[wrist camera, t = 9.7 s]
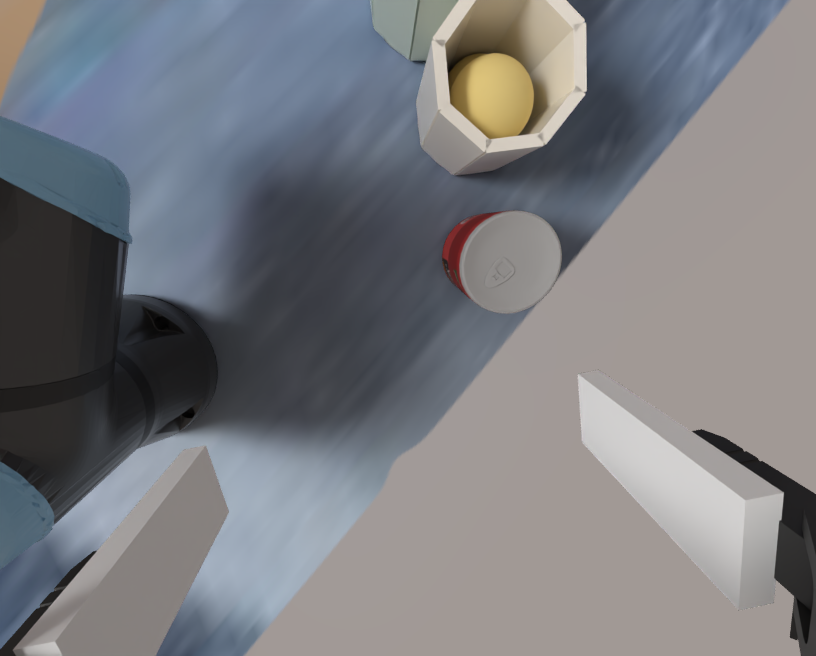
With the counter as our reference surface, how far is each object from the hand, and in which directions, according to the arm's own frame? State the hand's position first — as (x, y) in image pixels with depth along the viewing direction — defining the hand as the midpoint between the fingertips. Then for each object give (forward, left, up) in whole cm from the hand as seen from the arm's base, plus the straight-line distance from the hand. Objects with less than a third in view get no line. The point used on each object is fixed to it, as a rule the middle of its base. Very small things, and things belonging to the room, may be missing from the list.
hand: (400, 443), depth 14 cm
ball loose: (+9, +15, -19) cm, 26 cm away
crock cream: (+10, +16, -28) cm, 34 cm away
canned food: (+10, +3, -29) cm, 30 cm away
